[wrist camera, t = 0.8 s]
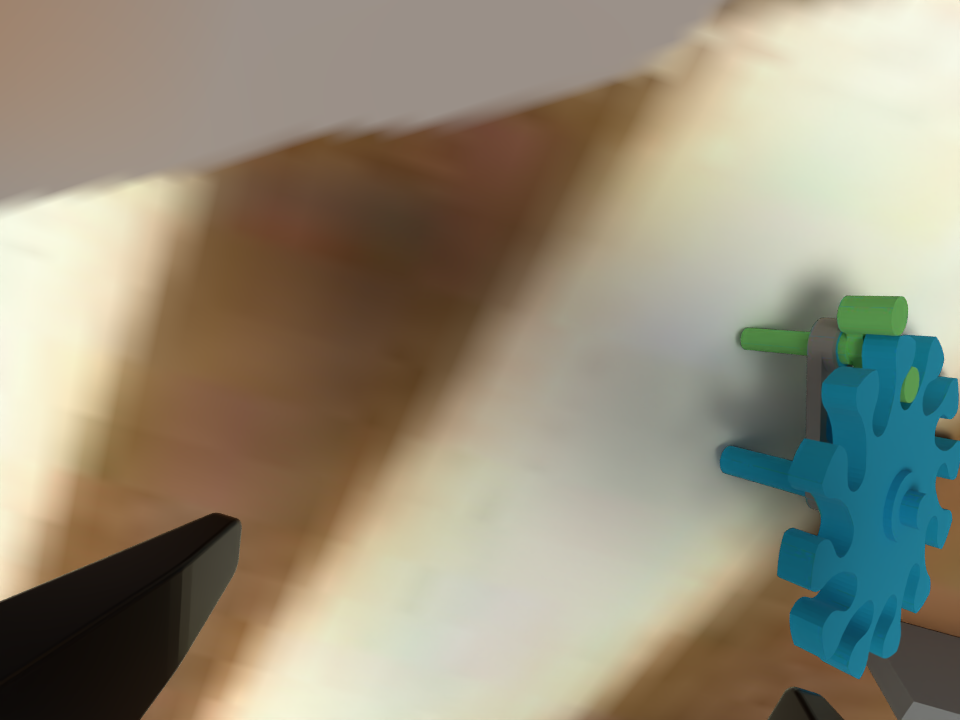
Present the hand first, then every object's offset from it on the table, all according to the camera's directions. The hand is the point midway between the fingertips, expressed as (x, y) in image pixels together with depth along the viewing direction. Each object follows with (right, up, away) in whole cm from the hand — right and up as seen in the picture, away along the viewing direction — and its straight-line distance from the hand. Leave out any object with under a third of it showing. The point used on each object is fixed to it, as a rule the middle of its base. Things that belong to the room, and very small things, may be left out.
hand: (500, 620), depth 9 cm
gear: (+12, +2, +12) cm, 17 cm away
